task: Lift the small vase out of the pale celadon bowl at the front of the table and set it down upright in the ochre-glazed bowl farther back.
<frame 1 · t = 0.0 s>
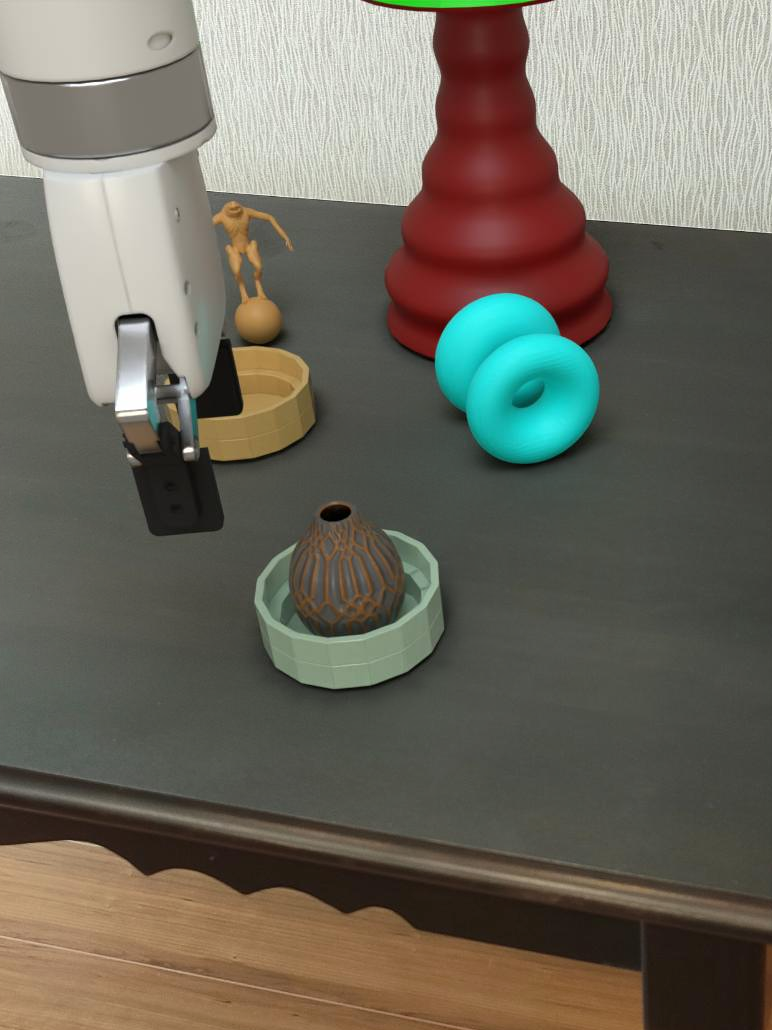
hand: (201, 468, 60), 19 cm above the table, tool pointing down, fingers open, 9 cm apart
vase: (355, 629, 80), resting on near bowl
donuts: (519, 437, 97), on the table
near bowl: (355, 631, 80), on the table
far bowl: (245, 425, 100), on the table
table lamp: (500, 317, 113), on the table
figurine: (260, 338, 112), on the table
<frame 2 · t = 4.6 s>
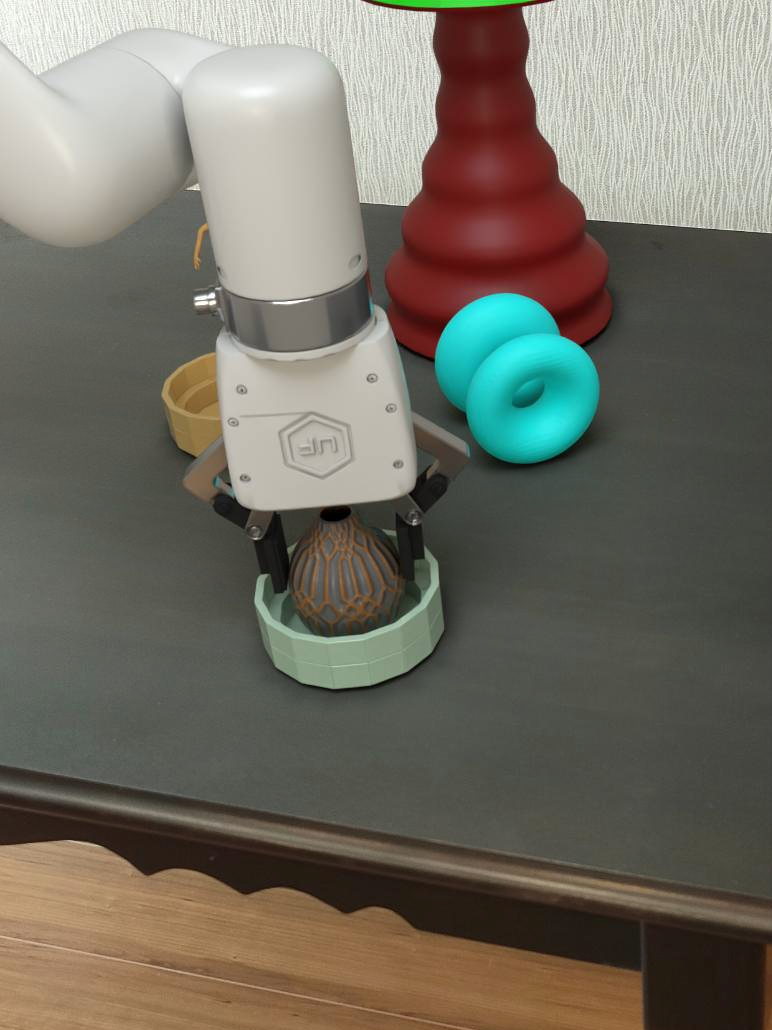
hand: (345, 571, 77), 5 cm above the table, tool pointing down, fingers closed on vase, 7 cm apart
vase: (355, 629, 80), resting on near bowl, touching gripper
everything else where it was.
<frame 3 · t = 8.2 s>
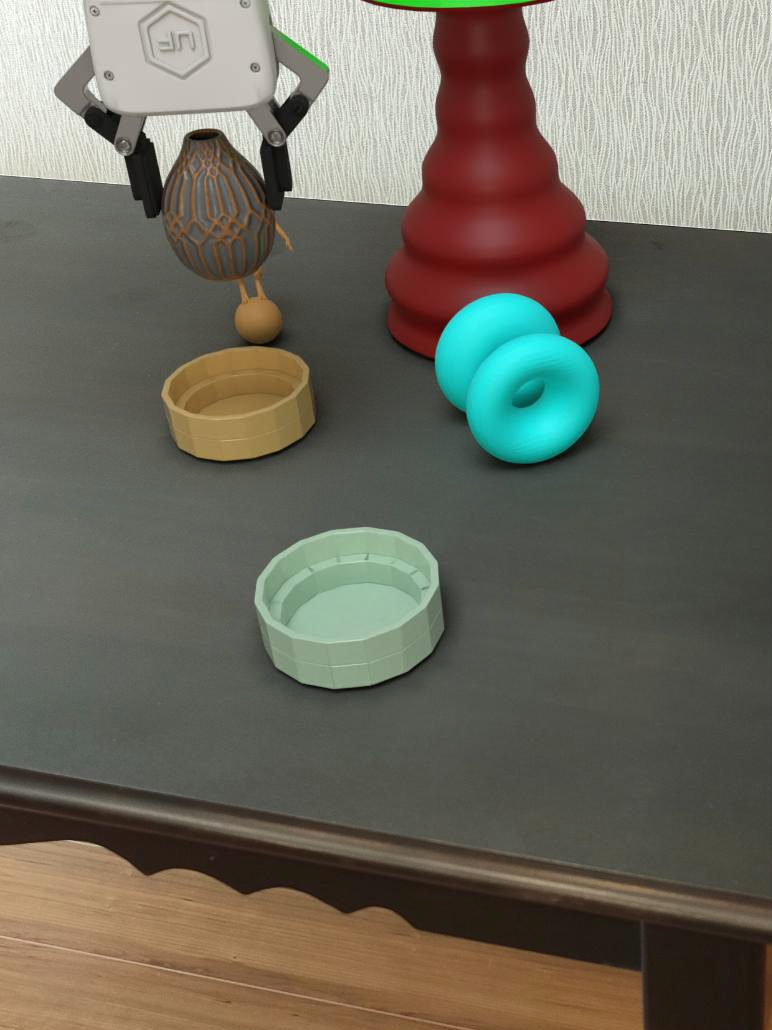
hand: (216, 204, 80), 21 cm above the table, tool pointing down, fingers closed on vase, 7 cm apart
vase: (229, 271, 83), point 17 cm above the table, touching gripper
everything else where it was.
when the fingers open (5 cm above the table, at t = 11.8 s): vase stays where it is, resting on far bowl.
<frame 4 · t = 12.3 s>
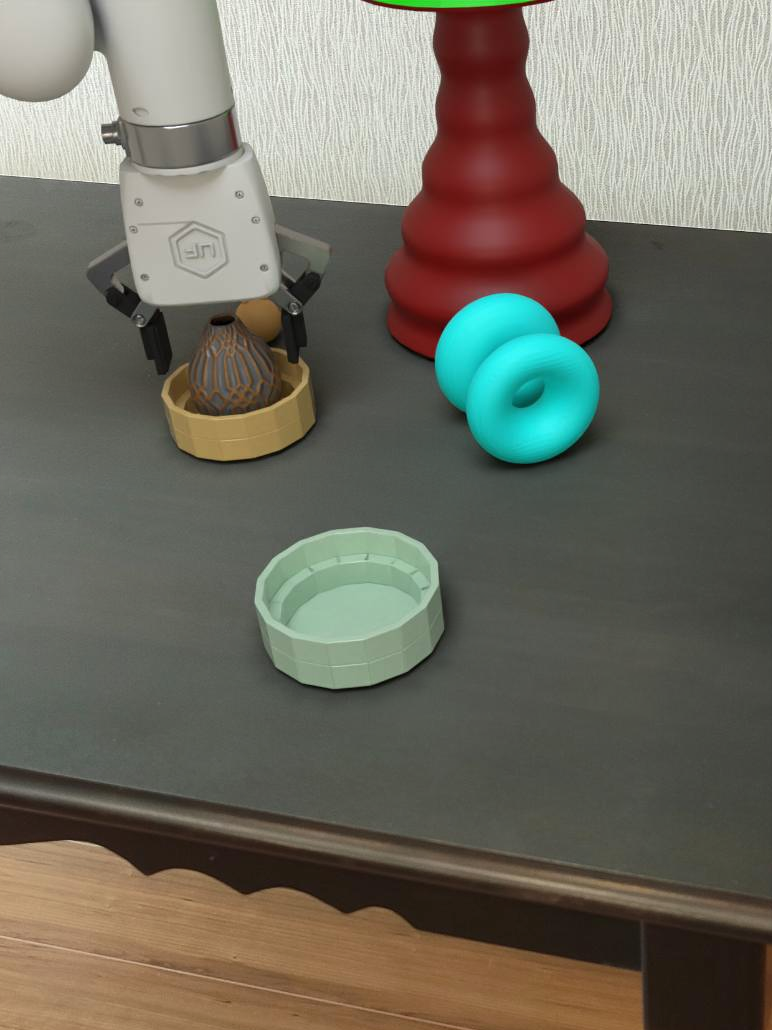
hand: (230, 360, 96), 6 cm above the table, tool pointing down, fingers open, 9 cm apart
vase: (244, 423, 100), resting on far bowl
everything else where it was.
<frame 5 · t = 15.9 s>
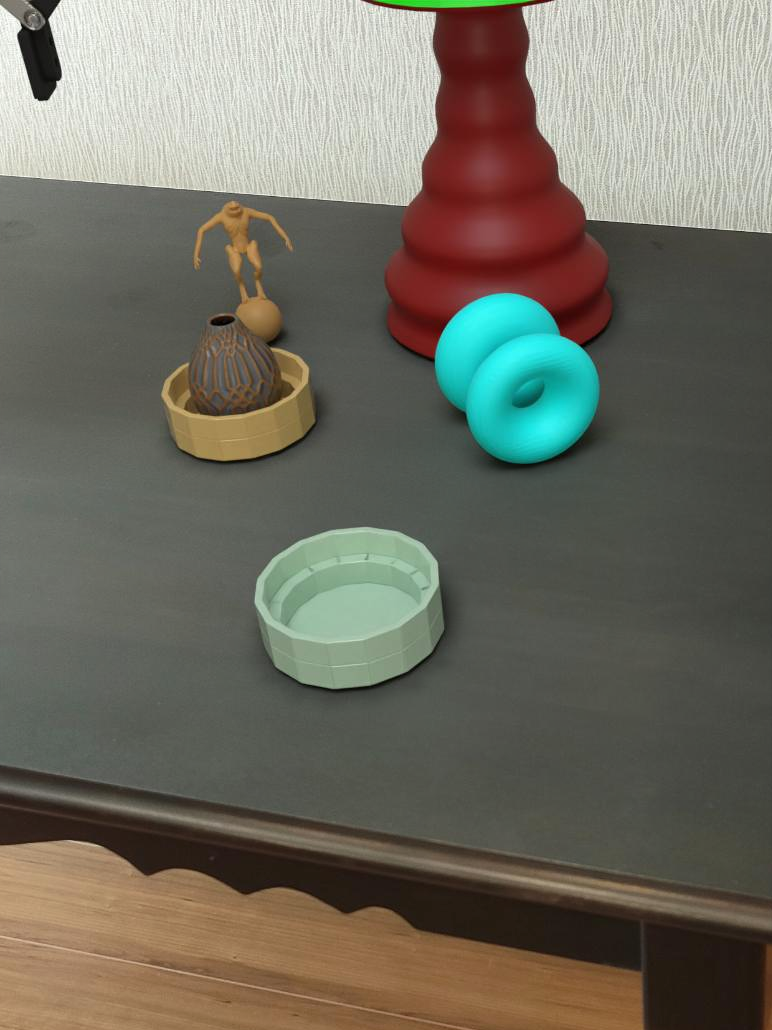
nothing on the table moved.
at the end: vase 0.0 cm off-centre in the far bowl, point 0.2 cm above the far bowl's base; vase tilted 0°; the gripper is holding nothing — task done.
